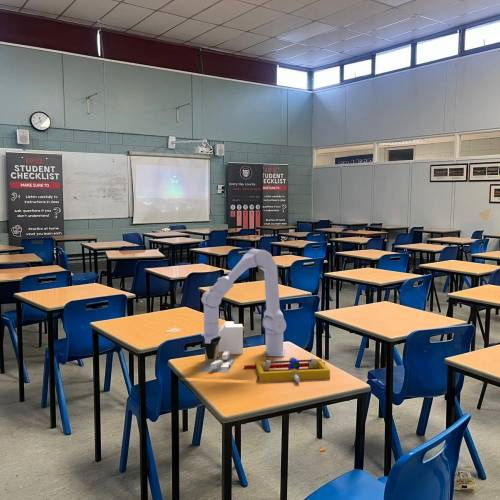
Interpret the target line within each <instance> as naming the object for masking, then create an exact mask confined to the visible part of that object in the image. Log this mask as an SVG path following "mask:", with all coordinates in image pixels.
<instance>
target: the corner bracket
mask: <svg viewBox="0 0 500 500" xmlns="http://www.w3.org/2000/svg"><path fill="white" fill-rule="evenodd" d="M243 330H244V327H243V323H237V324H236V323H234V321H225V322H223V324H221V326H219V333H220V336H221V339H220V341H219V353H224V351H225V350H230V355H243V354H244V331H243Z"/></svg>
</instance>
